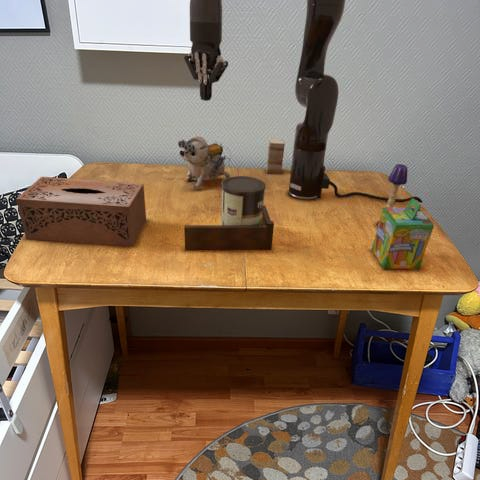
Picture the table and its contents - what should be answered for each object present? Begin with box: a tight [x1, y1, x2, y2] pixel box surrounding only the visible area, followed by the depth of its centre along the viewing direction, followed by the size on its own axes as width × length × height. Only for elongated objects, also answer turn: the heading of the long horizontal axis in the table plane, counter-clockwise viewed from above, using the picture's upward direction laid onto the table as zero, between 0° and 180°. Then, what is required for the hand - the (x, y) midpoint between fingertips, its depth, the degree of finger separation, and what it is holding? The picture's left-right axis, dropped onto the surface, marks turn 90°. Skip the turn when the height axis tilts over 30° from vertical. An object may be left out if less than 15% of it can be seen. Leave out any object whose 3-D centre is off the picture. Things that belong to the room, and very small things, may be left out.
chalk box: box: [371, 198, 435, 270], centre depth 107 cm, size 9×9×15 cm
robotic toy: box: [177, 135, 232, 190], centre depth 141 cm, size 13×17×15 cm
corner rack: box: [183, 205, 275, 252], centre depth 115 cm, size 21×13×7 cm, turn 96°
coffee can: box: [220, 175, 267, 225], centre depth 113 cm, size 10×10×14 cm
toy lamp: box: [376, 163, 408, 228], centre depth 122 cm, size 5×5×17 cm
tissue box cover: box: [15, 176, 147, 247], centre depth 114 cm, size 26×14×10 cm, turn 87°
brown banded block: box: [265, 138, 286, 175], centre depth 154 cm, size 5×4×10 cm
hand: (205, 99), depth 119 cm, fingers closed
